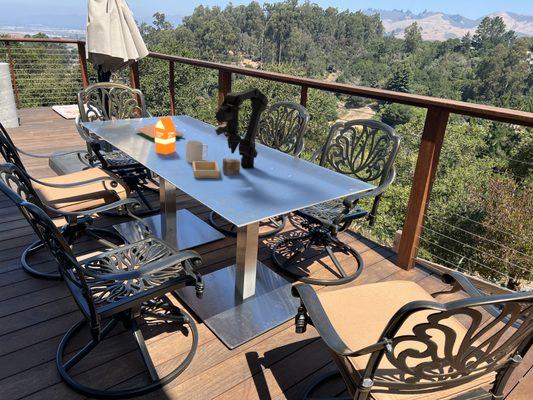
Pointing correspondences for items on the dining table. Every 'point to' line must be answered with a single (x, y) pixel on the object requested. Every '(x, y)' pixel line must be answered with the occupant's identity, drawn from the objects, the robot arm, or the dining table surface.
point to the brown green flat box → (153, 131)
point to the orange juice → (165, 136)
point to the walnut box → (231, 166)
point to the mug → (195, 151)
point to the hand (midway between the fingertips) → (231, 150)
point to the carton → (206, 169)
